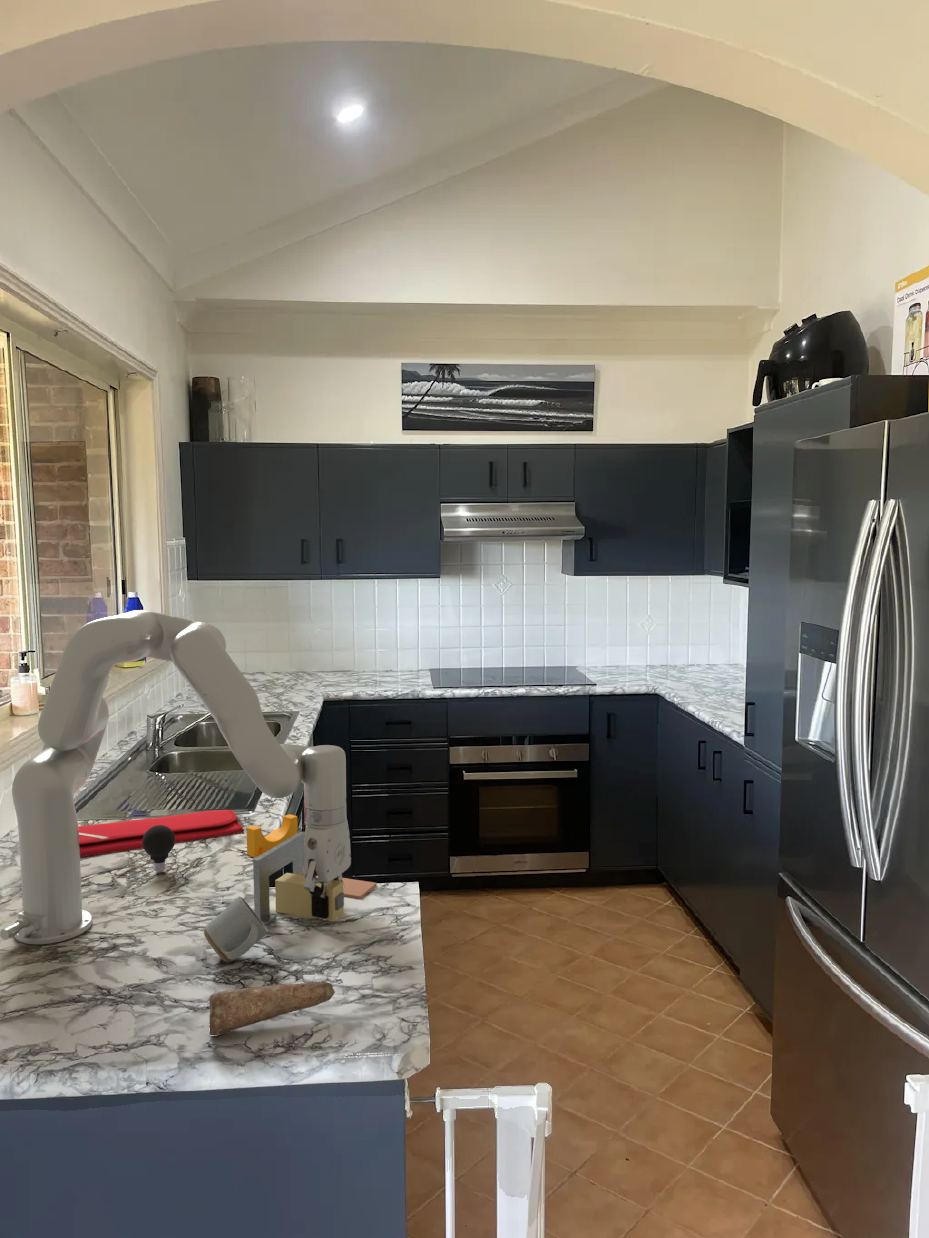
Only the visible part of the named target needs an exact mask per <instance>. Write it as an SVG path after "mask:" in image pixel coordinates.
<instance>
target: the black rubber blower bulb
mask: <svg viewBox="0 0 929 1238" xmlns="http://www.w3.org/2000/svg"><path fill="white" fill-rule="evenodd" d="M142 844H143V848H142V849H143V850H144V852H145V853H146V854H147V855H149V857H150V860H152V861H153V863H154V864H153V867H154V872H156V873H159V874H161V873H162V872H165V871H166V859H168V858H169V853H171V852H172V850H173V848H175V847H174V846H175V844H176V843H175V835H174V833H173V831H172V830H171V829H170V828H168V827H167V826H164V825H156V826H153V827H151V828H150V829H148V830H147V832H146V833H145V834H144V837H143V841H142Z"/></svg>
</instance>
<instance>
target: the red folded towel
mask: <svg viewBox="0 0 929 1238" xmlns="http://www.w3.org/2000/svg"><path fill="white" fill-rule="evenodd" d="M156 825H164V826H167V827H168V828H170V829H171V830H172V831H173V833H174V835H175V844H178V843H184V842H191V841H197V840H204V839H210V838H217V837H223V836H229V834H230V835H235V834H234V833H236V834H239V833H238V832H242V833H244V827H243V825H242V824H241V822H240V821H239V820H238V815H237V814H236V813H235V811H234V810H232V809H223V810H221V809H220V810H218V809H217V810H215V809H214V810H204V811H196V812H190V813H182V814H175V815H174V814H173V815H168V816H162V817H152V818H151V817H150V818H142V819H132V820H131V819H130V820H124V821H116V822H106V823H98V824H97V823H96V824H89V825H78V829H79V849H80V858H83V857H90V856H97V855H105V854H110V853H118V852H124V851H125V852H126V851H130V850H131V851H132V850H137V849H144V848H143V844H142V841H143V837H144V834H145V833H146V832H147V830H148V829H150V828H151V827H153V826H156Z"/></svg>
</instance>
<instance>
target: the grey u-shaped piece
mask: <svg viewBox="0 0 929 1238" xmlns="http://www.w3.org/2000/svg"><path fill="white" fill-rule="evenodd" d="M304 837H305V831H298V833H297V834H295V835H294V836H292V837H290V838H289V839H287V840H285V841H284V842H282V843H280V844H279V845H277V846H275V847H274V848H272V849H270V850H269V851H267V852H265V853H263V854H262V855H260V856H258V857H255V858H253V859H252V864H253V865H252V866H253V867H252V868H253V901H254V905H253V907H254V910H253V911H254V912H255V913H256V915H257V916H258V917H259V918H260V920H261V921H262V922H263V924H264V925H265V927H266V926H268V927H269V926H271V923H272V924H273V923H275V922H276V921H277V920H276V919H277V915H275V914H270V913H271V909H270V908H271V907H270V877H271V876H272V875H273V874H274V873H276V872H278V871H279V870H281V869H283V868H284V867H285V866H287V865H289V864H290V863H292V874H298V875H304V871H303V852H304ZM275 920H276V921H275Z"/></svg>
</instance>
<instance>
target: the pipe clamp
mask: <svg viewBox="0 0 929 1238" xmlns="http://www.w3.org/2000/svg"><path fill="white" fill-rule="evenodd" d="M298 825H299V824H298V815H294V814H286V815H283V816H282V822H281V826H280V827H279V828H277V829H273V830H272V831H271V832H270V833H269V834H267V835H265V836H264V834H263V831H262V827H260V826H257V825H250V826H248V827H246V852H247V854H246V855H247V856H249V857H251V858H253V859H255V858H257V857H258V856H260V855H262V854H263V853H265V852H267V851H269V850H270V849H272V848H274V847H275V846H277V845H279V844H280V843H282V842H284V841H285V840H287V839H289V838H290V837H292V836H294V835H295V834H297V833H299V831H298V830H299V828H298Z"/></svg>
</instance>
